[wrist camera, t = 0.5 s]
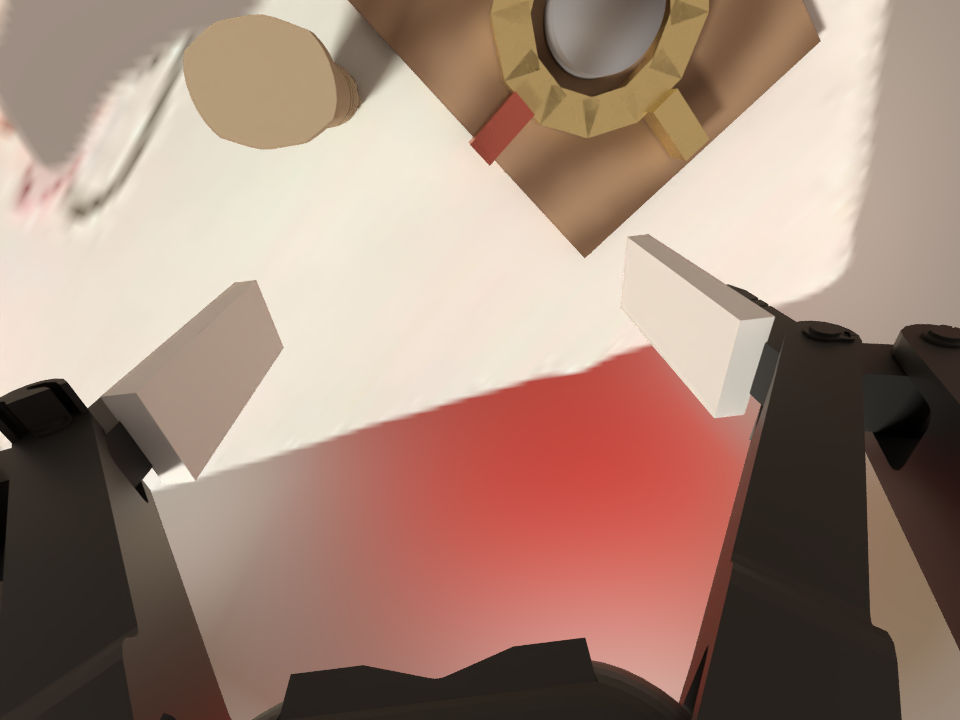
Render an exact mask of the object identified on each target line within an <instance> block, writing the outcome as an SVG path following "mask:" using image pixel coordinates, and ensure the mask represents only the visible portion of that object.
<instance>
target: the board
mask: <svg viewBox="0 0 960 720" xmlns="http://www.w3.org/2000/svg"><path fill="white" fill-rule="evenodd" d="M348 1H349V2H350V3H351V4H352V5H353V6H354V7H355V9H356V10H357V11H358V12H359V13H360V14H361V15H362V16H363V17H364V18H365V19H366V21H367V22H368V23H369V24H370V25H371V26H372V27H373V28H374V29H375V30H376V31H377V33H378V34H379V35H380V36H381V37H382V38H383V39H384V40H385V41H386V42H387V43H388V44H389V46H390V47H391V48H392V49H393V50H394V51H395V52H396V53H397V54H398V55H399V56H400V58H401V59H402V60H403V61H404V62H405V63H406V64H407V65H408V66H409V67H410V68H411V70H412V71H413V72H414V73H415V74H416V75H417V76H418V77H419V78H420V79H421V80H422V82H423V83H424V84H425V85H426V86H427V87H428V88H429V89H430V90H431V91H432V92H433V93H434V95H435V96H436V97H437V98H438V99H439V100H440V101H441V102H442V103H443V104H444V105H445V107H446V108H447V109H448V110H449V111H450V112H451V113H452V114H453V115H454V116H455V117H456V119H457V120H458V121H459V122H460V123H461V124H462V125H463V126H464V127H465V128H466V129H467V131H468V132H469V133H470V134H471V135H472V136H474V135H475V134H476V133H477V132H478V131H479V129H480V128H481V127H482V126H483V125H484V123H485V122H486V121H487V120H488V119H489V118H490V116H491V115H492V114H493V113H494V112H495V110H496V109H497V108H498V107H499V106H500V104H501V103H502V102H503V101H504V100H505V99H506V97H507V96H508V95H509V94H510V93H511V92H510V91H509V90H508V88H507V87H506V86H505V85H504V84H503V83H502V78H501V73H500V68H499V64H498V59H497V54H496V50H495V45H494V40H493V35H492V31H491V26H490V21H489V16H490V11H491V6H492V1H493V0H348ZM665 7H666V0H534V1H533V5H532V10H531V19H532V25H533V31H534V37H535V43H536V49H537V55H538V58H539V60H540V61H541V62H542V64H543V65H544V66H545V68H546V69H547V70H548V71H549V73H550V74H551V75H552V77H553V78H554V79H555V81H556V82H557V83H558V85H559V86H560V87H561V88H564V89H568V90H571V91H574V92H577V93H580V94H583V95H587V96H593V95H596V94H599V93H602V92H605V91H608V90H611V89H614V88H617V87H619V86H620V85H621V83H622V82H623V81H624V80H625V79H626V78H627V77H628V76H629V75H630V74H631V73H632V72H633V71H634V70H635V69H636V68H637V66H638V65H639V64H640V63H641V62H642V61H643V60H644V59H645V57H646V54H647V52H648V49H649V47H650V45H651V44H652V42H653V40H654V39H655V37H656V35H657V33H658V30H659V28H660V26H661V23H662V19H663V16H664V12H665ZM819 42H820V39H819V36H818V34H817V32H816V30H815V27H814V25H813V23H812V20H811V18H810V16H809V14H808V11H807V9H806V7H805V5H804V2H803V0H709V13H708V15H707V18H706V20H705V23H704V25H703V28H702V30H701V32H700V35H699V37H698V40H697V42H696V45H695V47H694V49H693V52H692V54H691V57H690V59H689V62H688V64H687V66H686V69H685V71H684V74H683V76H682V79H680V80H679V81H678V82H677V83H676V84H675V85H674V87H673V88H672V89H677V88H678V90H679V92H680V93H681V95H682V96H683V98H684V99H685V101H686V103H687V104H688V106H689V107H690V109H691V111H692V112H693V114H694V115H695V117H696V118H697V120H698V122H699V123H700V125H701V126H702V128H703V130H704V131H705V133H706V134H707V136H708V137H709V139H710V140H708V141H707V142H706V143H705V144H704V145H703V146H702V147H701V148H700V149H699V150H698V151H697V152H695V153H694V154H693V155H692V156H691V157H690V158H689V159H688V160H687V161H684V160H680V159H675V158H671V157H670V156H669V154H668V153H667V152H666V150H665V149H664V147H663V146H662V144H661V143H660V141H659V140H658V139H657V137H656V136H655V134H654V133H653V131H652V130H651V128H650V127H649V126H648V124H647V123H646V121H645V120H644V118H642V119H641V120H640V121H639V122H638V123H634V124H631V125H628V126H625V127H622V128H619V129H615V130H612V131H609V132H606V133H603V134H600V135H597V136H594V137H590V138H583V137H580V136H577V135H573V134H570V133H567V132H563V131H560V130H556V129H553V128H550V127H546V126H543V125H540V124H536V122H535V121H534V120H533V119H531V120H530V121H529V122H528V123H527V124H526V125H525V126H524V128H523V129H522V130H521V131H520V132H519V133H518V134H517V136H516V137H515V138H514V139H513V140H512V141H511V142H510V143H509V145H508V146H507V147H506V148H505V149H504V150H503V151H502V152H501V154H500V155H499V156H498V157H497V158H496V159H495V161H496V162H497V163H498V164H499V165H500V166H501V168H502V169H503V170H504V171H505V172H506V173H507V174H508V175H509V176H510V177H511V178H512V180H513V181H514V182H515V183H516V184H517V185H518V186H519V187H520V188H521V189H522V190H523V191H524V193H525V194H526V195H527V196H528V197H529V198H530V199H531V200H532V201H533V202H534V203H535V205H536V206H537V207H538V208H539V209H540V210H541V211H542V212H543V213H544V214H545V215H546V217H547V218H548V219H549V220H550V221H551V222H552V223H553V224H554V225H555V226H556V227H557V229H558V230H559V231H560V232H561V233H562V234H563V235H564V236H565V237H566V238H567V239H568V240H569V242H570V243H571V244H572V245H573V246H574V247H575V248H576V249H577V250H578V251H579V252H580V254H581V255H582V256H583V257H584V258H585V257H587V256H588V255H589V254H590V253H591V252H592V251H593V250H594V249H595V248H596V247H597V246H599V245H600V244H601V243H602V242H603V241H604V240H605V239H606V238H607V237H608V236H609V235H610V234H612V233H613V232H614V231H615V230H616V229H617V228H618V227H619V226H620V225H621V224H622V223H624V222H625V221H626V220H627V219H628V218H629V217H630V216H631V215H632V214H633V213H634V212H635V211H637V210H638V209H639V208H640V207H641V206H642V205H643V204H644V203H645V202H646V201H647V200H648V199H650V198H651V197H652V196H653V195H654V194H655V193H656V192H657V191H658V190H659V189H660V188H662V187H663V186H664V185H665V184H666V183H667V182H668V181H669V180H670V179H671V178H672V177H673V176H675V175H676V174H677V173H678V172H679V171H680V170H681V169H682V168H683V167H684V166H685V165H687V164H688V163H689V162H690V161H691V160H692V159H693V158H694V157H695V156H696V155H697V154H698V153H700V152H701V151H702V150H703V149H704V148H705V147H706V146H707V145H708V144H709V143H710V142H712V141H713V140H714V139H715V138H716V137H717V136H718V135H719V134H720V133H721V132H722V131H723V130H725V129H726V128H727V127H728V126H729V125H730V124H731V123H732V122H733V121H734V120H735V119H737V118H738V117H739V116H740V115H741V114H742V113H743V112H744V111H745V110H746V109H747V108H748V107H750V106H751V105H752V104H753V103H754V102H755V101H756V100H757V99H758V98H759V97H760V96H762V95H763V94H764V93H765V92H766V91H767V90H768V89H769V88H770V87H771V86H772V85H773V84H775V83H776V82H777V81H778V80H779V79H780V78H781V77H782V76H783V75H784V74H785V73H786V72H788V71H789V70H790V69H791V68H792V67H793V66H794V65H795V64H796V63H797V62H798V61H800V60H801V59H802V58H803V57H804V56H805V55H806V54H807V53H808V52H809V51H810V50H811V49H813V48H814V47H815V46H816V45H817V44H818V43H819Z"/></svg>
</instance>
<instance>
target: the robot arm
mask: <svg viewBox="0 0 960 720" xmlns="http://www.w3.org/2000/svg"><path fill="white" fill-rule="evenodd" d="M620 308H621V309H622V310H623V311H624V313H625V314H626V315H627V316H628V317H629V318H630V320H631V321H632V322H633V323H634V324H635V326H636V327H637V328H638V329H639V330H640V331H641V333H642V334H643V335H644V336H645V337H646V338H647V340H648V341H649V342H650V343H651V344H652V346H653V347H654V348H655V349H656V350H657V351H658V353H659V354H660V355H661V356H662V357H663V358H664V359H665V361H666V362H667V363H668V364H669V365H670V367H671V368H672V369H673V370H674V371H675V373H676V374H677V375H678V376H679V377H680V378H681V380H682V381H683V382H684V383H685V384H686V385H687V387H688V388H689V389H690V390H691V391H692V393H693V394H694V395H695V396H696V397H697V398H698V400H699V401H700V402H701V403H702V404H703V405H704V407H705V408H706V409H707V410H708V411H709V412H710V414H711V415H712V416H713V417H714V418H719V417H728V416H735V415H744V414H745V411H746V407H747V404H748V401H749V398H750V395H752V396H753V397H754V398H755V399H756V400H757V401H758V402H759V403H760V404H761V407H760V410H759V413H758V416H757V419H756V422H755V425H754V428H753V431H752V434H751V437H750V440H751V442H750V445H749V449H748V453H747V457H746V460H745V464H744V468H743V472H742V475H741V479H740V483H739V487H738V490H737V494H736V498H735V501H734V505H733V509H732V513H731V516H730V520H729V524H728V528H727V531H726V535H725V539H724V543H723V546H722V550H721V554H720V558H719V561H718V565H717V569H716V572H715V577H714V580H713V584H712V588H711V591H710V595H709V599H708V602H707V606H706V610H705V614H704V617H703V621H702V625H701V629H700V632H699V636H698V640H697V643H696V647H695V651H694V654H693V658H692V662H691V665H690V669H689V671H688V675H687V678H686V681H685V684H684V687H683V691H682V694H681V697H680V701H679V703H678V702H677V701H675V700H674V699H673V698H672V697H670V696H669V695H668V694H666V693H665V692H664V691H662V690H661V689H659V688H658V687H656V686H655V685H653V684H651V683H649V682H648V681H646V680H645V679H643V678H641V677H639V676H637V675H635V674H633V673H631V672H629V671H626V670H624V669H622V668H619V667H615V666H612V665H609V664H606V663H602V662H597V661H592V660H591V658H590V654H589V650H588V647H587V643H586V639H585V638H579V639H570V640H562V641H554V642H547V643H539V644H530V645H523V646H514V647H512V648H509V649H507V650H505V651H502V652H500V653H498V654H496V655H493V656H491V657H489V658H487V659H484V660H482V661H480V662H478V663H476V664H473V665H471V666H469V667H466V668H464V669H462V670H460V671H457V672H455V673H453V674H450V675H448V676H446V677H443V678H439V679H431V678H426V677H421V676H415V675H410V674H405V673H400V672H395V671H390V670H384V669H379V668H374V667H369V666H364V665H362V666H355V667H347V668H338V669H331V670H323V671H314V672H306V673H298V674H291V676H290V680H289V683H288V687H287V691H286V695H285V698H284V702H281V703H279V704H277V705H275V706H274V707H272V708H270V709H269V710H267V711H265V712H263V713H262V714H260V715H258V716H257V717H256V718H254V719H253V720H902V719H901V707H900V691H899V678H898V665H897V657H896V652H895V646H894V643H893V641H892V639H891V637H890V635H889V634H888V632H887V631H884V630H882V629H880V628H878V627H875V626H873V625H872V623H871V617H870V600H869V566H868V531H867V497H866V463H865V452H866V454H867V456H868V458H869V460H870V462H871V464H872V466H873V469H874V471H875V473H876V475H877V477H878V479H879V481H880V483H881V485H882V488H883V490H884V492H885V494H886V496H887V498H888V500H889V502H890V504H891V506H892V509H893V511H894V513H895V515H896V517H897V519H898V521H899V523H900V525H901V527H902V530H903V532H904V534H905V536H906V538H907V540H908V542H909V544H910V547H911V549H912V551H913V553H914V555H915V557H916V559H917V561H918V563H919V565H920V568H921V570H922V572H923V574H924V576H925V578H926V580H927V582H928V585H929V587H930V588H931V591H932V593H933V595H934V597H935V599H936V601H937V603H938V606H939V608H940V610H941V612H942V614H943V616H944V618H945V620H946V622H947V624H948V627H949V629H950V631H951V633H952V635H953V637H954V639H955V641H956V644H957V645H958V648H959V650H960V328H956V327H955V328H952V326H947V325H939V326H938V325H931V324H915V325H910V326H906V327H904V328H903V329H902V330H901V331H900V333H899V335H898V337H897V339H896V342H895V343H894V345H889V344H868V343H862V340H861V339H860V337H859V335H857V334H856V333H854V332H853V331H851V330H849V329H847V328H844V327H842V326H839V325H835V324H831V323H827V322H819V321H799V322H796V321H794V320H792V319H791V318H789V317H788V316H786V315H784V314H783V313H781V312H779V311H778V310H776V309H775V308H773V307H772V306H768V304H767V303H765V302H764V301H762V300H758V298H757V297H756V296H754V295H752V294H751V293H749V292H748V291H746V290H743V289H740V288H737V287H734V286H731V285H726V284H724V283H723V282H721V281H720V280H718V279H717V278H715V277H713V276H712V275H710V274H709V273H707V272H706V271H704V270H703V269H701V268H700V267H698V266H696V265H695V264H693V263H692V262H690V261H689V260H687V259H686V258H684V257H683V256H681V255H680V254H678V253H676V252H675V251H673V250H672V249H670V248H669V247H667V246H666V245H664V244H663V243H661V242H660V241H658V240H656V239H655V238H653V237H652V236H650V235H649V234H647V235H638V236H630V237H627V242H626V253H625V264H624V274H623V285H622V296H621V307H620ZM283 348H284V347H283V345H282V343H281V340H280V338H279V335H278V333H277V330H276V328H275V325H274V323H273V320H272V318H271V315H270V313H269V311H268V308H267V306H266V303H265V301H264V298H263V296H262V293H261V291H260V288H259V286H258V283H257V281H256V280H254V281H245V282H237V283H234V284H232V285H231V286H230V287H229V288H228V289H226V290H225V291H224V292H223V293H222V294H221V295H219V296H218V297H217V298H216V299H215V300H214V301H212V302H211V303H210V304H209V305H208V306H206V307H205V308H204V309H203V310H202V311H201V312H199V313H198V314H197V315H196V316H195V317H194V318H192V319H191V320H190V321H189V322H188V323H187V324H185V325H184V326H183V327H182V328H181V329H179V330H178V331H177V332H176V333H175V334H174V335H172V336H171V337H170V338H169V339H168V340H167V341H165V342H164V343H163V344H162V345H161V346H159V347H158V348H157V349H156V350H155V351H154V352H152V353H151V354H150V355H149V356H148V357H147V358H145V359H144V360H143V361H142V362H141V363H139V364H138V365H137V366H136V367H135V368H134V369H132V370H131V371H130V372H129V373H128V374H127V375H125V376H124V377H123V378H122V379H121V380H119V381H118V382H117V383H116V384H115V385H114V386H112V387H111V388H110V389H109V390H108V391H107V392H105V393H104V394H103V395H102V396H101V397H100V398H99V399H98V400H97V401H96V402H95V403H93V404H92V405H91V406H90V407H89V408H87V407H86V406H85V405H84V403H83V402H82V401H81V399H80V398H79V397H78V396H77V394H76V393H75V392H74V390H73V389H72V388H71V386H70V385H69V384H68V383H67V382H66V381H65V380H64V379H49V380H44V381H40V382H36V383H33V384H30V385H26V386H24V387H22V388H19V389H17V390H14V391H12V392H10V393H8V394H6V395H4V396H2V397H0V431H1V432H2V433H3V434H4V435H5V436H6V438H7V439H8V440H9V441H10V442H11V443H12V448H10V449H7V450H3V451H0V720H231V718H230V716H229V713H228V711H227V708H226V705H225V702H224V699H223V697H222V694H221V691H220V688H219V685H218V682H217V679H216V677H215V674H214V671H213V668H212V665H211V662H210V659H209V657H208V654H207V651H206V648H205V645H204V642H203V639H202V637H201V634H200V631H199V628H198V625H197V622H196V619H195V616H194V614H193V611H192V608H191V605H190V602H189V599H188V597H187V594H186V591H185V588H184V586H183V582H182V579H181V576H180V573H179V571H178V568H177V565H176V562H175V559H174V556H173V554H172V551H171V548H170V545H169V542H168V539H167V537H166V534H165V531H164V528H163V525H162V522H161V519H160V517H159V513H158V511H157V508H156V505H155V502H154V499H153V496H152V493H151V490H150V489H149V488H148V486H147V485H146V484H145V483H144V481H143V480H142V479H143V478H144V477H145V476H146V474H147V473H148V472H149V471H150V469H151V468H153V469H154V471H155V472H156V473H157V475H158V476H159V478H160V479H161V480H162V482H163V483H164V484H173V483H182V482H190V481H196V479H197V477H198V476H199V474H200V473H201V471H202V470H203V468H204V467H205V465H206V464H207V462H208V461H209V459H210V458H211V456H212V455H213V453H214V452H215V450H216V449H217V447H218V446H219V444H220V443H221V441H222V440H223V438H224V437H225V435H226V434H227V432H228V431H229V429H230V428H231V426H232V425H233V423H234V422H235V420H236V419H237V417H238V416H239V414H240V413H241V411H242V410H243V408H244V407H245V405H246V404H247V402H248V401H249V399H250V398H251V396H252V395H253V393H254V392H255V390H256V389H257V387H258V386H259V384H260V382H261V381H262V379H263V378H264V376H265V375H266V373H267V372H268V370H269V369H270V367H271V366H272V364H273V363H274V361H275V360H276V358H277V357H278V355H279V354H280V352H281V351H282V349H283Z"/></svg>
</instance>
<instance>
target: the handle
mask: <svg viewBox="0 0 960 720" xmlns="http://www.w3.org/2000/svg"><path fill="white" fill-rule="evenodd" d="M183 65H184V76H185V80H186V85H187V88H188V90H189V93H190V96H191V99H192V101H193V103H194V105H195V107H196V109H197V111H198V112H199V114H200V115H201V117H202V118H203V120H204V121H205V123H206V124H207V125H208V126H209V127H210V128H211V129H212V131H213V132H215V133H216V134H217V135H218V136H219V137H220V138H223V139H226V140H229V141H232V142H235V143H238V144H242V145H245V146H248V147H252V148H257V149H275V148H281V147H287V146H293V145H299V144H304V143H307V142H310V141H311V140H312V139H314V138H315V137H317V136H318V135H319V134H320V133H322V132H323V131H324V130H325V129H327V128H331V127H336V126H339V125H341V124H343V123H345V122H347V121H348V120H350V119H351V118H352V117H353V115H354V114H355V112H356V110H357V108H359V107H360V105H361V100H360V99H359V96H358V92H357V88H356V86H357V83H356V81H355V80H354V79H353V77H352V76H350V75H349V74H348V73H347V72H346V71H345V70H344V69H343V68H342V67H340V66H339V65H338V64H336V63H335V62H333V60H332V58H331V56H330V54H329V52H328V50H327V49H326V48H325V46H324V45H323V43H322V42H321V41H320V40H319V39H318V38H317V36H316V35H315V34H314V33H312V32H311V31H309V30H307V29H304V28H301V27H299V26H296V25H294V24H291V23H289V22H286V21H283V20H280V19H278V18H275V17H271V16H266V15H247V16H241V17H235V18H229V19H225V20H221V21H218V22H215V23H214V24H212V25H211V26H210V27H208V28H207V29H205V30H204V31H203V32H202V33H201V34H200V35H199V36H198V37H197V38H196V39H195V40H194V41H193V43H192V44H191V45H190V46H189V47H188V48H187V49H186V50H185V51H184V60H183Z"/></svg>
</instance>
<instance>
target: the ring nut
mask: <svg viewBox="0 0 960 720" xmlns="http://www.w3.org/2000/svg"><path fill="white" fill-rule="evenodd" d="M533 1H534V0H493V1H492V6H491V11H490V16H489V21H490V26H491V31H492V35H493V40H494V45H495V50H496V54H497V59H498V64H499V68H500V73H501V78H502V83H503V84H504V85H505V86H506V87H507V88H508V90H509V91H510V92H511V93H510V94H509V95H508V96H507V97H506V99H505V100H504V101H503V102H502V103H501V104H500V106H499V107H498V108H497V109H496V110H495V112H494V113H493V114H492V115H491V116H490V118H489V119H488V120H487V121H486V122H485V123H484V125H483V126H482V127H481V128H480V129H479V131H478V132H477V133H476V134H475V135H474V136H473V138H472V139H471V140H470V141H469V143H470V145H471V146H472V147H473V148H474V149H475V150H476V151H477V153H478V154H479V155H480V156H481V157H482V158H483V159H484V160H485V161H486V162H487V163H488V164H489V165H491V164H492V163H493V161H494V160H495V159H496V158H497V157H498V156H499V155H500V154H501V152H502V151H503V150H504V149H505V148H506V147H507V146H508V145H509V143H510V142H511V141H512V140H513V139H514V138H515V137H516V136H517V134H518V133H519V132H520V131H521V130H522V129H523V128H524V126H525V125H526V124H527V123H528V122H529V121H530V120H531V119H533V120H534V121H535V122H536V124H540V125H543V126H546V127H550V128H553V129H556V130H560V131H563V132H567V133H570V134H573V135H577V136H580V137H583V138H590V137H594V136H597V135H600V134H603V133H606V132H609V131H612V130H615V129H619V128H622V127H625V126H628V125H631V124H634V123H638V122H639V121H640V120H641V119H642V118H644V120H645V121H646V123H647V124H648V126H649V127H650V128H651V130H652V131H653V133H654V134H655V136H656V137H657V139H658V140H659V141H660V143H661V144H662V146H663V147H664V149H665V150H666V152H667V153H668V154H669V156H670V157H671V158H675V159H680V160H684V161H687V160H688V159H689V158H690V157H691V156H692V155H693V154H694V153H695V152H697V151H698V150H699V149H700V148H701V147H702V146H703V145H704V144H705V143H706V142H707V141H708V140H710V139H709V137H708V136H707V134H706V133H705V131H704V130H703V128H702V126H701V125H700V123H699V122H698V120H697V118H696V117H695V115H694V114H693V112H692V111H691V109H690V107H689V106H688V104H687V103H686V101H685V99H684V98H683V96H682V95H681V93H680V92H679V90H678V88H677V89H672V88H673V87H674V85H675V84H676V83H677V82H678V81H679V80H680V79H682V76H683V74H684V71H685V69H686V66H687V64H688V62H689V59H690V57H691V54H692V52H693V49H694V47H695V45H696V42H697V40H698V37H699V35H700V32H701V30H702V28H703V25H704V23H705V20H706V18H707V15H708V13H709V0H666V7H665V12H664V16H663V19H662V23H661V26H660V28H659V30H658V33H657V35H656V37H655V39H654V40H653V42H652V44H651V45H650V47H649V49H648V52H647V54H646V57H645V59H644V60H643V61H642V62H641V63H640V64H639V65H638V66H637V68H636V69H635V70H634V71H633V72H632V73H631V74H630V75H629V76H628V77H627V78H626V79H625V80H624V81H623V82H622V83H621V85H620V86H619V87H617V88H614V89H611V90H608V91H605V92H602V93H599V94H596V95H593V96H587V95H583V94H580V93H577V92H574V91H571V90H568V89H564V88H561V87H560V86H559V85H558V83H557V82H556V81H555V79H554V78H553V77H552V75H551V74H550V73H549V71H548V70H547V69H546V68H545V66H544V65H543V64H542V62H541V61H540V60H539V58H538V55H537V49H536V43H535V37H534V31H533V25H532V19H531V10H532V5H533Z"/></svg>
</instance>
